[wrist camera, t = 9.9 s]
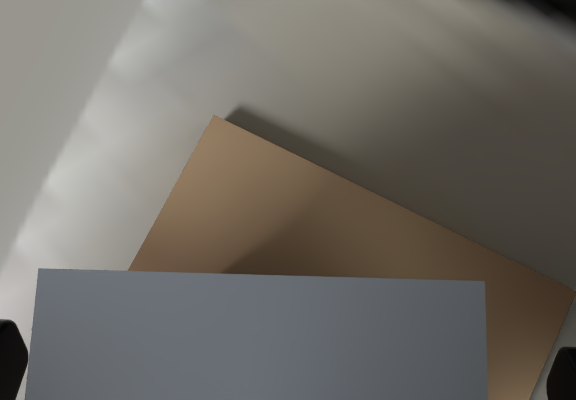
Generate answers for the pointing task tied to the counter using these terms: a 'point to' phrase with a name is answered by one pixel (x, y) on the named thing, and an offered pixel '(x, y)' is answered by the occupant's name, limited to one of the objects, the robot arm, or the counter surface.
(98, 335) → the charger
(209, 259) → the walnut board
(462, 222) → the counter surface
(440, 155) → the counter surface
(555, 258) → the counter surface
